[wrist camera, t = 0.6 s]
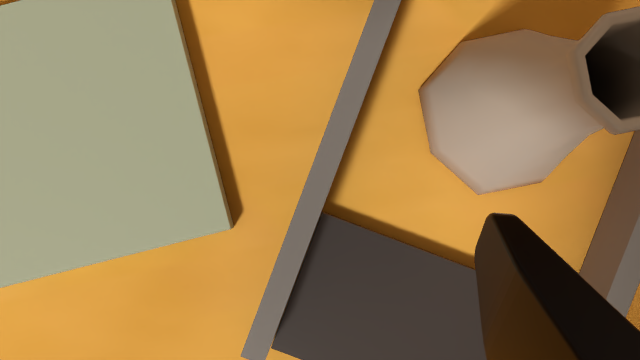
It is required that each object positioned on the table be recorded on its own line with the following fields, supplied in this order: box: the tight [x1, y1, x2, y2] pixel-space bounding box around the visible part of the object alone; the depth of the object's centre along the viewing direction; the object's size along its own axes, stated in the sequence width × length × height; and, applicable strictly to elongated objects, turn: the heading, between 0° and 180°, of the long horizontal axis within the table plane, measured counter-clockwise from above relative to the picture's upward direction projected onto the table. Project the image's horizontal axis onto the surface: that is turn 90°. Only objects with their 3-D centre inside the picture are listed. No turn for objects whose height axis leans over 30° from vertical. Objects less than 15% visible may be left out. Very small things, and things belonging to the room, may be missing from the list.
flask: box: [418, 6, 640, 195], centre depth 17 cm, size 7×7×10 cm
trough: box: [241, 0, 640, 360], centre depth 21 cm, size 17×14×2 cm
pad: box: [0, 0, 234, 288], centre depth 22 cm, size 12×12×1 cm
